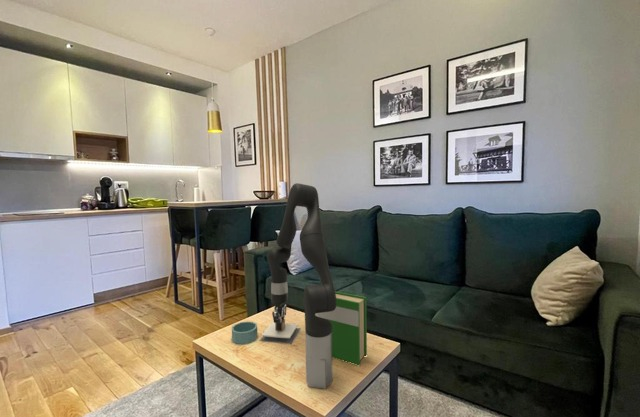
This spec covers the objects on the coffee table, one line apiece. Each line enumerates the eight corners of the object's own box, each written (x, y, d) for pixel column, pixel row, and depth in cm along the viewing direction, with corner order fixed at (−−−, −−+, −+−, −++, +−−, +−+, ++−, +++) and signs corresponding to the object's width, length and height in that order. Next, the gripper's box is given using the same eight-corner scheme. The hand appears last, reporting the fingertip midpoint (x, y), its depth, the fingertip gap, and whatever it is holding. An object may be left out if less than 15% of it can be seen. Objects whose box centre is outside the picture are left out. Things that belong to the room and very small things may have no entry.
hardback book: (366, 356, 115) (366, 297, 114) (359, 366, 109) (358, 303, 107) (328, 344, 124) (327, 289, 123) (319, 353, 118) (318, 295, 117)
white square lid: (289, 338, 125) (289, 327, 125) (261, 336, 128) (261, 325, 127) (297, 325, 138) (297, 315, 138) (272, 323, 140) (271, 314, 140)
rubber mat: (291, 345, 124) (291, 344, 124) (259, 342, 127) (259, 341, 127) (301, 329, 139) (300, 328, 139) (271, 326, 142) (271, 325, 142)
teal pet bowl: (250, 346, 124) (250, 333, 124) (227, 344, 126) (227, 331, 126) (261, 334, 135) (260, 322, 134) (239, 332, 137) (239, 320, 137)
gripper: (282, 296, 124) (283, 336, 125) (291, 286, 138) (292, 322, 139) (265, 296, 126) (266, 334, 127) (277, 286, 140) (277, 321, 140)
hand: (280, 328), depth 133 cm, fingers closed on white square lid, 3 cm apart
